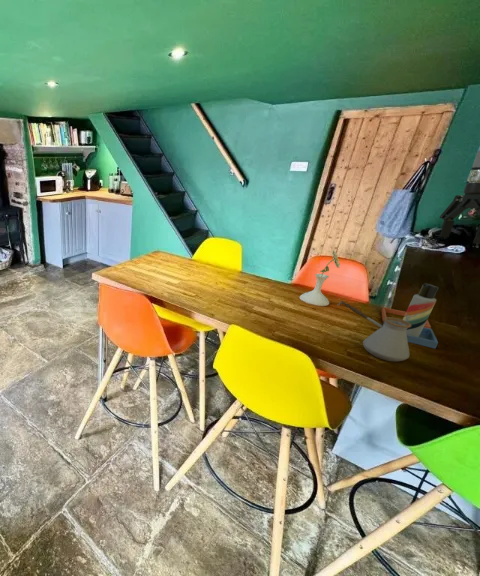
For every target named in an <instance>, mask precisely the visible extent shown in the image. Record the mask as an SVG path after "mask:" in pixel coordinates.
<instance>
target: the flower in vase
mask: <svg viewBox="0 0 480 576" xmlns="http://www.w3.org/2000/svg"><path fill="white" fill-rule="evenodd" d="M331 254H332V259H331V260H330V261H329V262H328V263H327V264H326V265H325V267H324V268H323V269H322V270H320V271H319V272H320V273H315V274H314V276H315V278H316V283H315V286H314V289H312V290H310V291H307V292H304V293H302V294H301V295H299V300H300V301H301V302H302V303H305V304H307V305H310V306H315V307H327V306H329V305H330V301H329V299H328V298H327V296H325V294H323V293H322V287H323V284H324V283H325V281H326V280H327V279H328V278H329V277H330V276H329V275H328V274H325V273H327V272H329V271H330V268H329V266H328V265H330V263H332V262H333V263H334V266H335V267H336V268H337V269H339V268H340V266H341V264H340V259H339V257H338V256H339V255H338V254H337V251H336V250H332V253H331Z"/></svg>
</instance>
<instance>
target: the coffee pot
mask: <svg viewBox="0 0 480 576" xmlns="http://www.w3.org/2000/svg"><path fill="white" fill-rule="evenodd" d="M341 304H342V305H344V306H345V307H346V308H348V309H350V310H351V311H352V312H353V313H355V314H357V315H358V316H361V317H362V318H364V319H366V320H368V321H369V322H370V323H372V324H374V325H375V326H377V327H378V329H376V330H375V331H374V332H373V333H371V334H370V335H368V336H367V337H366V338H365V339H364V340H363V341H362V345H363V347H364V349H365V351H367V353H369V354H370V355H371V356H373V357H375V358H378V359H381V360H383V361H386V362H387V361H388V362H402V361H403V362H404V361H406V360H407V359H409V357H410V356H411V355H410V347H409V342H408V341H407V334H406V330H407V328H409V327H411V324H410V323H409V322H407V321H404V320H403V318H399V317H392V316H387V317H385V318H384V321H385V324H384V325H383V324H381V323H379V322H378V321H376V320H374V319H373V318H371V317H369V316H368V315H367V314H365V313H363V312H362V311H361V310H360V309H358V308H356V307H354V306H352V305H351V304H350V303H346V302H345V301H343V300H341V301H340V302H339V303H338V304H337V306H340V305H341Z"/></svg>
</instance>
